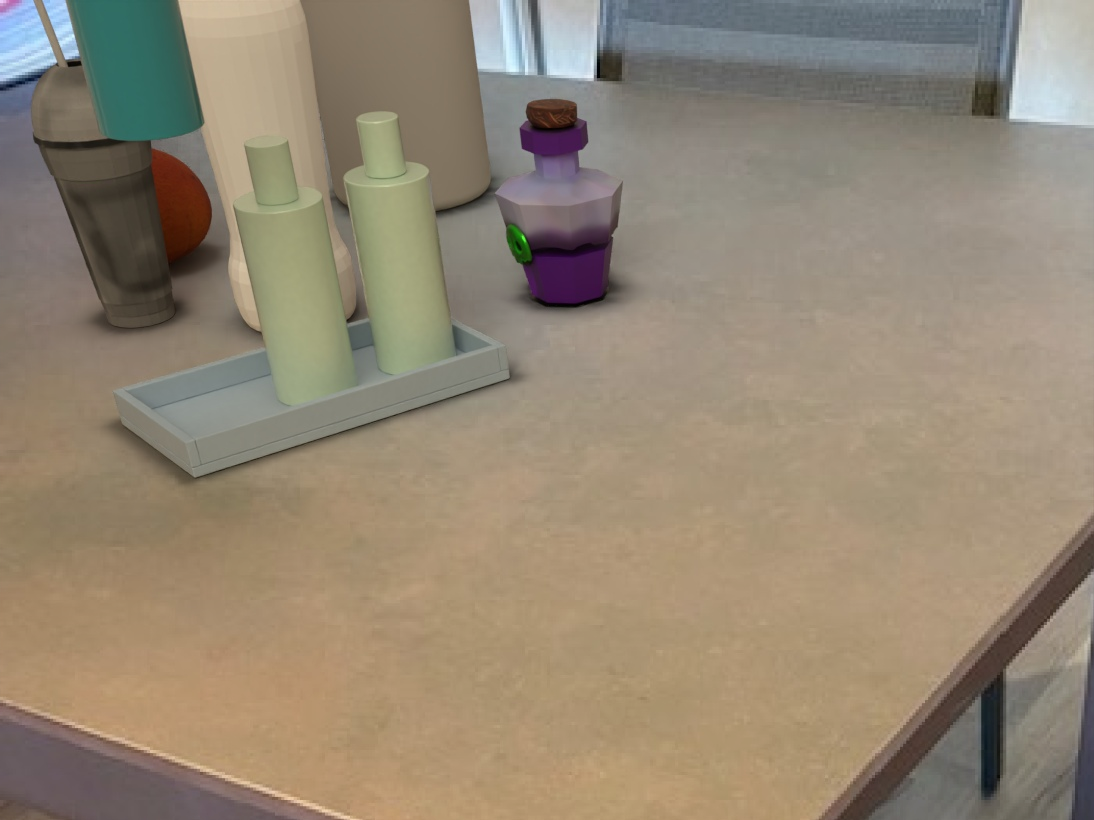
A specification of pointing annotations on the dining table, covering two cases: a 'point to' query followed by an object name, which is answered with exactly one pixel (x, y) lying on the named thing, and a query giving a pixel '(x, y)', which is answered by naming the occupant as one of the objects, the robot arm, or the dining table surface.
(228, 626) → the dining table surface
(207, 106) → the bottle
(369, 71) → the cylinder vase
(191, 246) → the fruit
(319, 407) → the tray
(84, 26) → the loose bottle
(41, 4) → the beverage cup
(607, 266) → the potion bottle
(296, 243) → the bottle
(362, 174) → the bottle
